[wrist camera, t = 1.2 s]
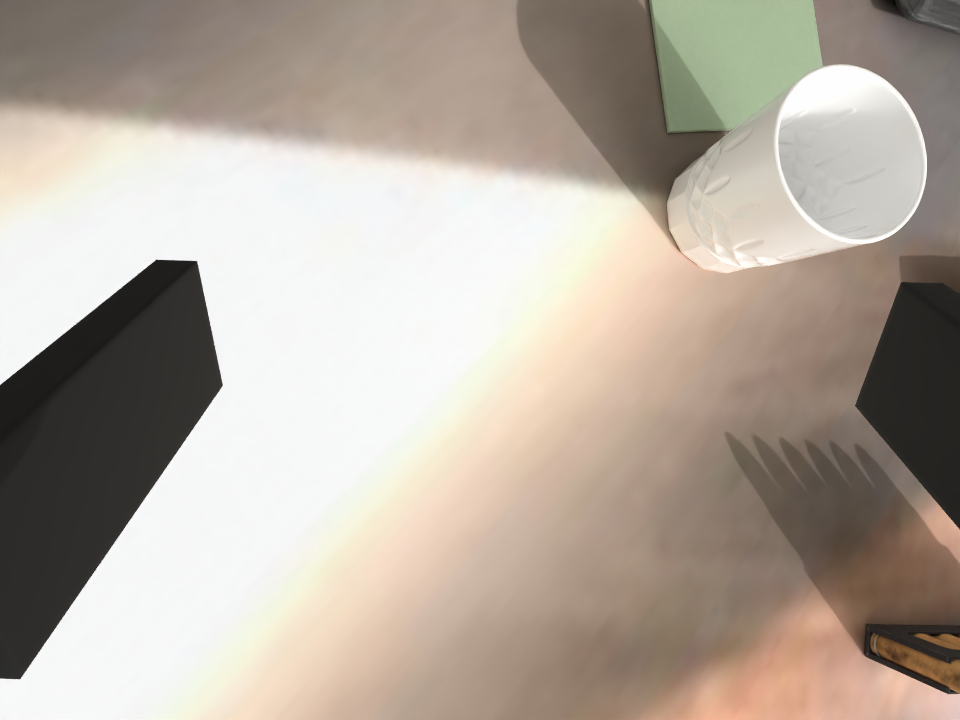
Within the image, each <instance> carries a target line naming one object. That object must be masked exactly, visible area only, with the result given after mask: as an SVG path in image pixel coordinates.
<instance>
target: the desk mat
mask: <svg viewBox="0 0 960 720" xmlns="http://www.w3.org/2000/svg"><path fill="white" fill-rule="evenodd" d="M649 5H650V12H651V19H652V26H653V34H654V41H655V48H656V55H657V62H658V69H659V76H660V84H661V91H662V98H663V105H664V112H665V119H666V126H667V133H677V132H702V131H727V130H732V129H734V128H735V127H736V126H738V125H739V124H740V123H742V122H743V121H744V120H746V119H747V118H748V117H750V116H751V115H752V114H754V113H755V112H756V111H758V110H759V109H760V108H762V107H763V106H764V105H766V104H767V103H769V102H770V101H771V100H773V99H774V98H775V97H777V96H778V95H779V94H781V93H782V92H783V91H784V90H786V89H787V88H788V87H790V86H791V85H792V84H794V83H795V82H796V81H798V80H799V79H800V78H802V77H803V76H804V75H806V74H807V73H809V72H811V71H813V70H815V69H817V68H820V67H823V66H822V59H821V53H820V46H819V39H818V32H817V26H816V19H815V12H814V5H813V0H649Z"/></svg>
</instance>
